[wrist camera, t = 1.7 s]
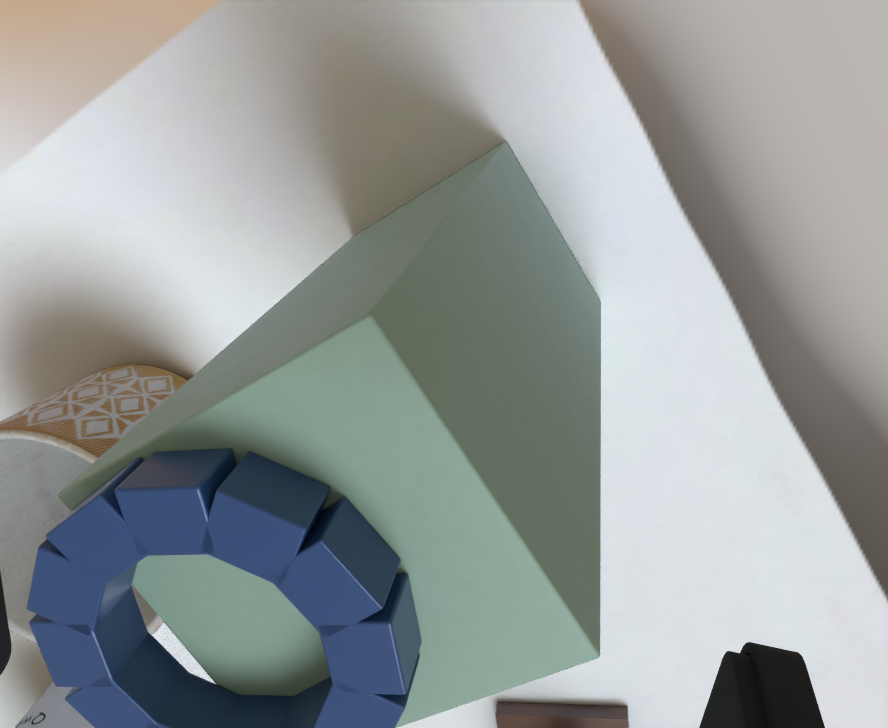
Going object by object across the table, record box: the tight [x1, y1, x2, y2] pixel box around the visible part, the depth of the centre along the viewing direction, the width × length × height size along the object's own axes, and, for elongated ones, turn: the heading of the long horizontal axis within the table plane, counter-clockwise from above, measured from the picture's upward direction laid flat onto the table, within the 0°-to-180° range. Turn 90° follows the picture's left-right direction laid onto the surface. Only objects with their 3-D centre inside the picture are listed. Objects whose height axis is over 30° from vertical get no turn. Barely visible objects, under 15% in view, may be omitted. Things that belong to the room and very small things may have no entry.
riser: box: [58, 141, 601, 728], centre depth 28 cm, size 9×9×24 cm
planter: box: [0, 364, 188, 643], centre depth 42 cm, size 13×13×10 cm
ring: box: [27, 448, 422, 728], centre depth 18 cm, size 8×8×2 cm
